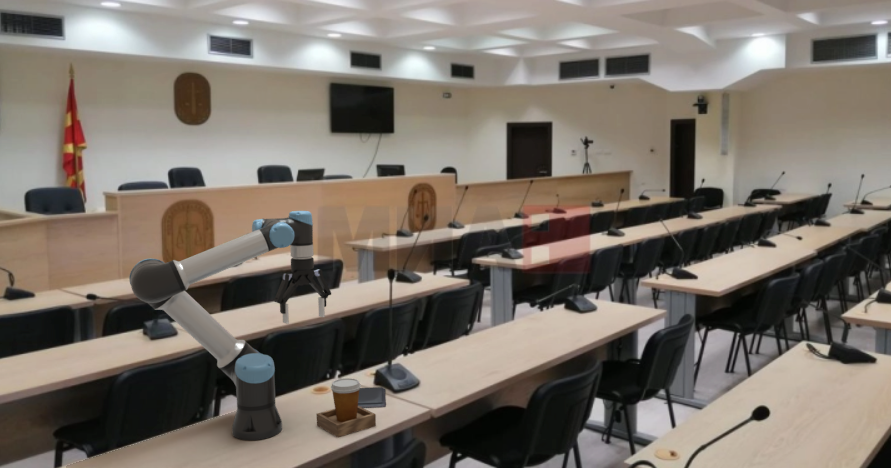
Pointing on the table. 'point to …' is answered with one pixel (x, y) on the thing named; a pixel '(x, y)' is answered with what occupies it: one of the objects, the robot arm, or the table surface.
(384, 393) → the wallet
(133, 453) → the table surface
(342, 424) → the tray
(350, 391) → the disposable coffee cup
